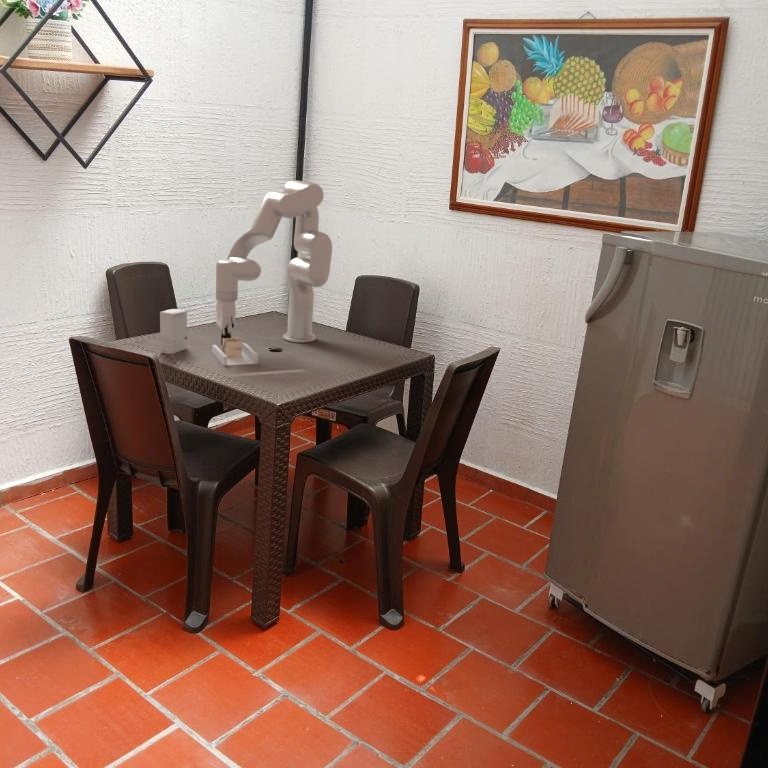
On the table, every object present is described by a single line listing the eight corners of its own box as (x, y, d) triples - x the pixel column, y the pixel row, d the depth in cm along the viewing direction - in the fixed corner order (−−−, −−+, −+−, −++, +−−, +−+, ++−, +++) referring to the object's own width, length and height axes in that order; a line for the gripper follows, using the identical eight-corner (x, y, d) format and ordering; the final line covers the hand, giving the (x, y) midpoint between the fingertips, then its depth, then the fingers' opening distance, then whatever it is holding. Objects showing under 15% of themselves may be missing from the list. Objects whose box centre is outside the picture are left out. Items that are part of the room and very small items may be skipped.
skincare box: (173, 355, 281) (173, 314, 276) (159, 352, 283) (158, 311, 278) (188, 350, 288) (188, 309, 283) (174, 347, 290) (173, 307, 286)
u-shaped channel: (212, 355, 285) (212, 344, 284) (245, 353, 290) (245, 343, 289) (223, 367, 272) (223, 356, 271) (257, 365, 277) (258, 354, 276)
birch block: (222, 353, 285) (222, 338, 283) (237, 352, 287) (237, 337, 285) (226, 357, 280) (226, 342, 278) (241, 356, 283) (242, 341, 281)
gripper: (211, 291, 289) (210, 340, 295) (221, 300, 276) (221, 351, 282) (231, 290, 292) (230, 339, 298) (243, 299, 280) (242, 350, 285)
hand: (226, 345), depth 290 cm, fingers closed
